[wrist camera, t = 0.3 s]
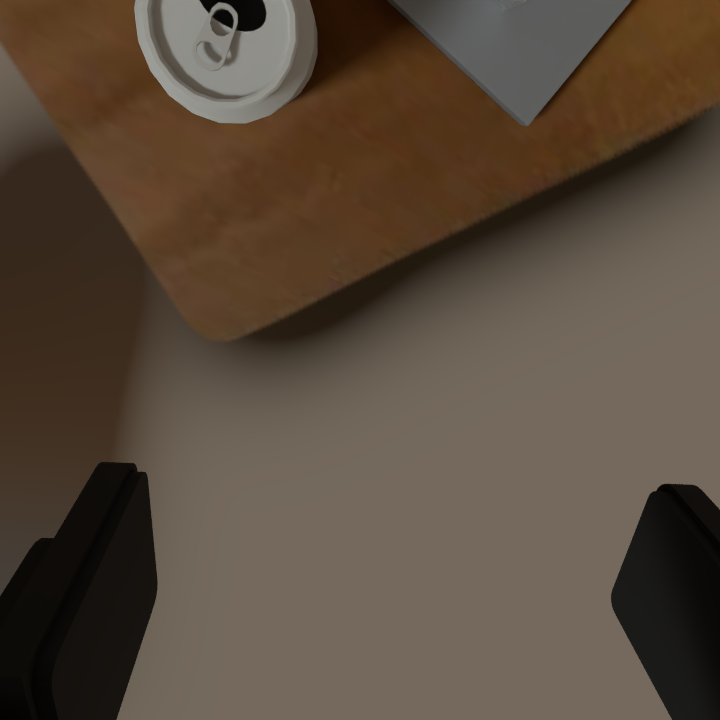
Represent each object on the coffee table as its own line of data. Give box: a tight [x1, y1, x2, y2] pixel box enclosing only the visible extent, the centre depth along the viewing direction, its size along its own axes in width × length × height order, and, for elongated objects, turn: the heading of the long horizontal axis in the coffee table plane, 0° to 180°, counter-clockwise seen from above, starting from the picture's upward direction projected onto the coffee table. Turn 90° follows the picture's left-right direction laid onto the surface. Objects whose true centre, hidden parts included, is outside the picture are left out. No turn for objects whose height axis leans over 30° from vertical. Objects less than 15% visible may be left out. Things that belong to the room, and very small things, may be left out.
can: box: [134, 0, 318, 123], centre depth 28 cm, size 8×8×12 cm
